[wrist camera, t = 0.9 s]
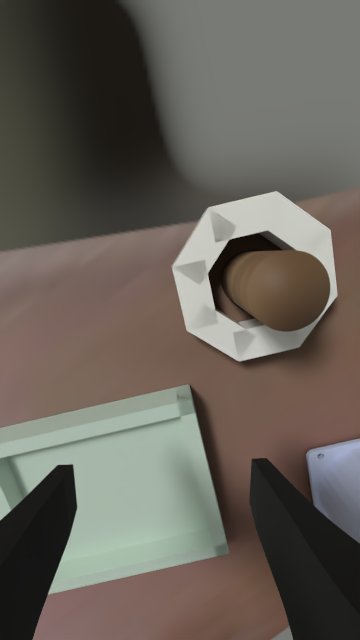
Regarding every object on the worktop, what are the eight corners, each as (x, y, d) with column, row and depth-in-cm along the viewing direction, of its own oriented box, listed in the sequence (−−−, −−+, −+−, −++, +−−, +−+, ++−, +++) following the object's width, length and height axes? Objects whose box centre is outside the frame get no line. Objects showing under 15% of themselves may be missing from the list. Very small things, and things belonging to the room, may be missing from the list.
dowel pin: (269, 245, 19) (325, 241, 12) (277, 298, 20) (334, 321, 13) (216, 258, 19) (242, 261, 12) (226, 310, 20) (257, 339, 13)
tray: (189, 384, 21) (191, 399, 19) (223, 525, 24) (229, 553, 22) (-11, 430, 21) (-32, 451, 19) (47, 565, 24) (35, 597, 22)
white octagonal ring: (308, 187, 18) (325, 179, 17) (325, 329, 21) (342, 337, 19) (161, 222, 19) (160, 218, 17) (193, 360, 21) (196, 371, 19)
